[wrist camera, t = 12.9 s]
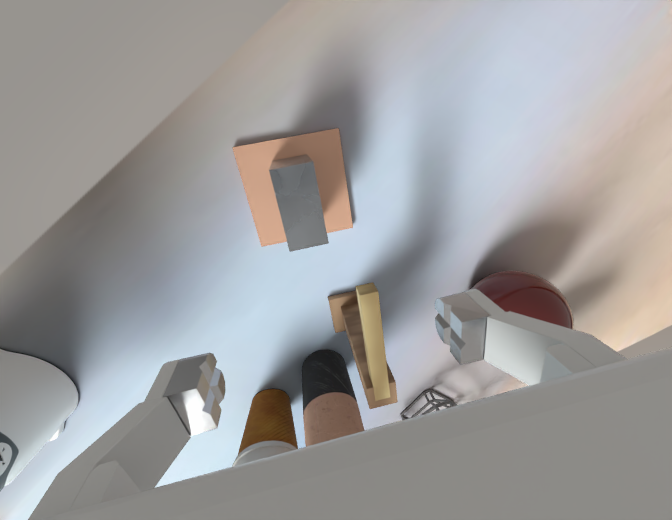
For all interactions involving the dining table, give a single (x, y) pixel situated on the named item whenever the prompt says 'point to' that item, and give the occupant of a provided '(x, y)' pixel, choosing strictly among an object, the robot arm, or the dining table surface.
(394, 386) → the stand
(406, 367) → the dining table surface
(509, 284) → the round-bottom flask
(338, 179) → the tile
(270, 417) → the disposable coffee cup
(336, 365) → the travel mug
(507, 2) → the dining table surface
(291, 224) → the brushed grey metal block
